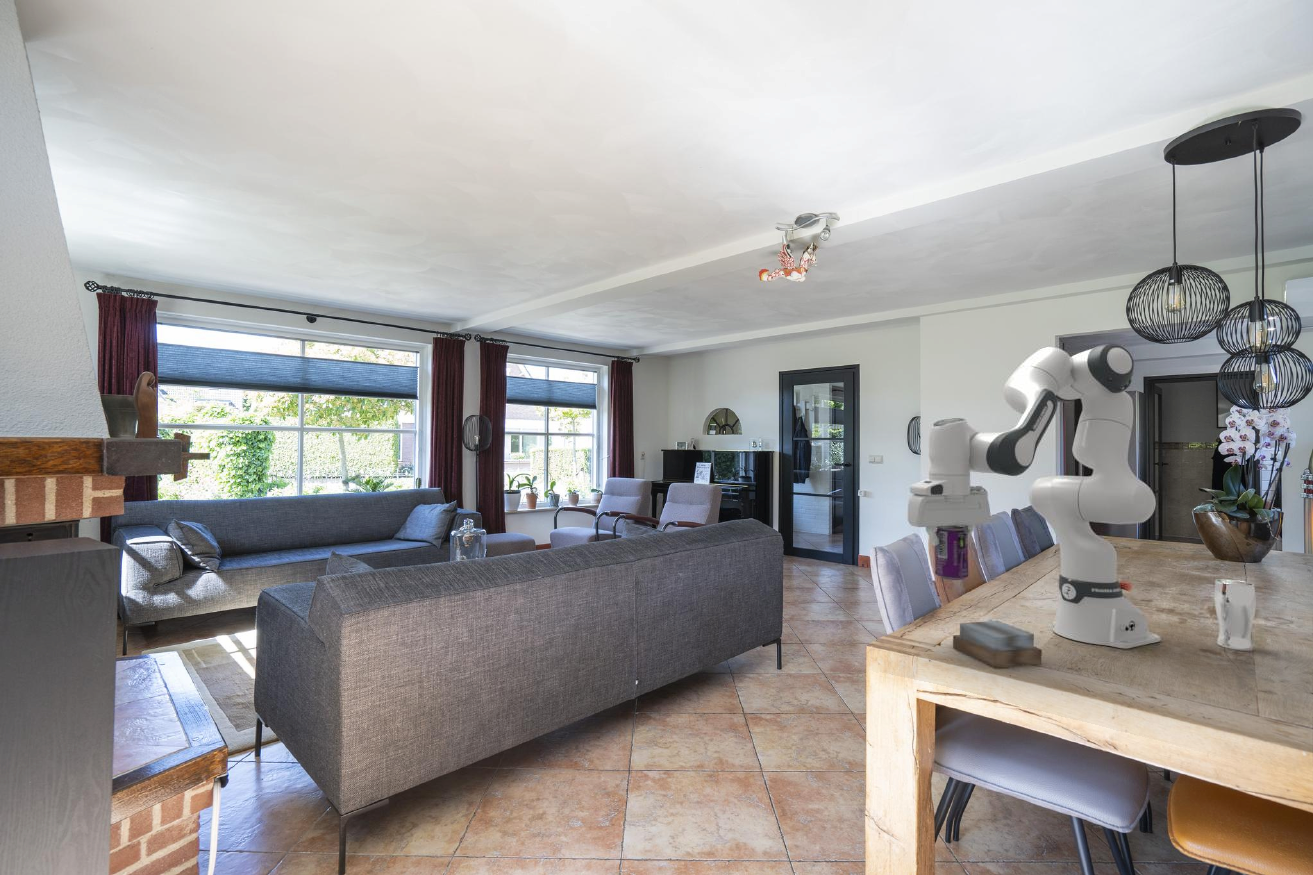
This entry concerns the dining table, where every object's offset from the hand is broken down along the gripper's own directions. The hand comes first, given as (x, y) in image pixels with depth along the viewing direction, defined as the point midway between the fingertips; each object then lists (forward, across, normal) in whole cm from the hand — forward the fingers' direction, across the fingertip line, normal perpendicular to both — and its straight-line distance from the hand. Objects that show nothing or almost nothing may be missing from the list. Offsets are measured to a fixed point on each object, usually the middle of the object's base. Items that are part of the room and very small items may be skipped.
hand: (949, 544), depth 141 cm
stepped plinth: (+23, -3, +11) cm, 25 cm away
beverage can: (+8, 0, 0) cm, 8 cm away
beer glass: (+24, -63, +16) cm, 69 cm away
